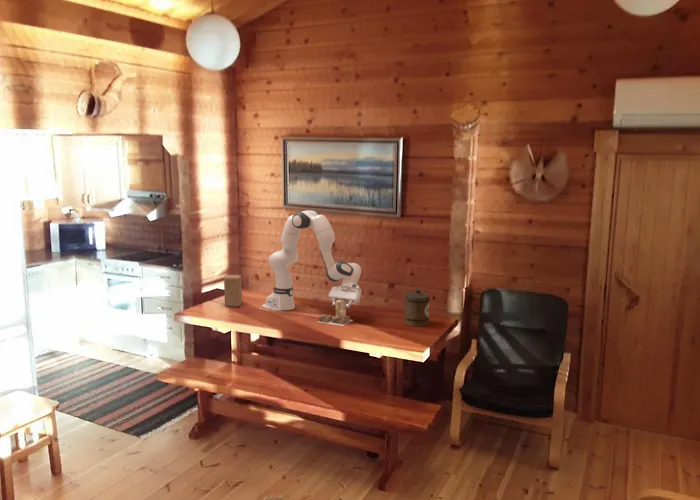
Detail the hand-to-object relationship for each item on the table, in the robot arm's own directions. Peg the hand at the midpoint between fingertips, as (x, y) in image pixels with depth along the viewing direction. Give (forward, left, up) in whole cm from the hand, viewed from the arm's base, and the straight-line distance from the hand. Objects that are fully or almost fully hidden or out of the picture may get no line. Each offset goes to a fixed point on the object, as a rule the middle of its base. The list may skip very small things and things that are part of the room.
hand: (340, 306), depth 361 cm
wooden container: (+40, +25, -11) cm, 48 cm away
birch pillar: (0, +1, -7) cm, 7 cm away
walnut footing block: (-9, -2, -10) cm, 14 cm away
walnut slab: (0, +1, -10) cm, 10 cm away
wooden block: (-84, +3, -11) cm, 85 cm away
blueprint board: (-4, +1, -11) cm, 12 cm away
